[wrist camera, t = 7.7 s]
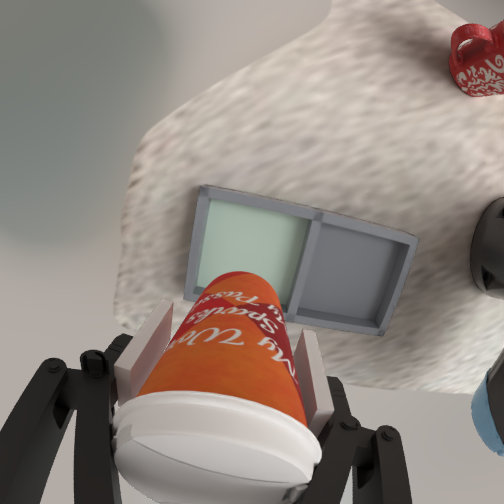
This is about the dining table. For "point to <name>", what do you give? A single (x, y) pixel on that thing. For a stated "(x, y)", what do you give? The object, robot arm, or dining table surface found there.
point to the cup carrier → (301, 258)
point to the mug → (478, 59)
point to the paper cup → (221, 407)
